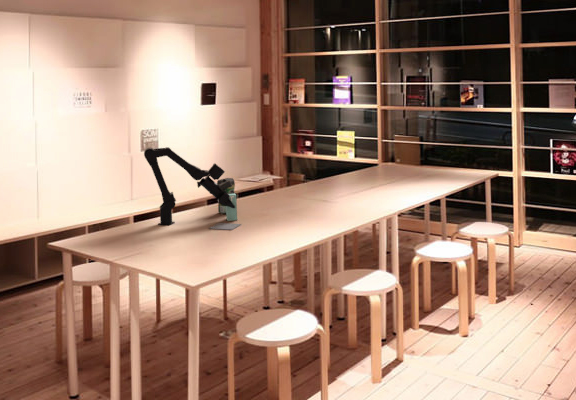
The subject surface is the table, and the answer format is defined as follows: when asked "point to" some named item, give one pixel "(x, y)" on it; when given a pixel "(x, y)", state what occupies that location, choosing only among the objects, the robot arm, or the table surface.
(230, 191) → the coffee jar
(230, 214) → the teal tall block
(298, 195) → the table surface
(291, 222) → the table surface
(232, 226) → the mat
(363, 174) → the table surface
